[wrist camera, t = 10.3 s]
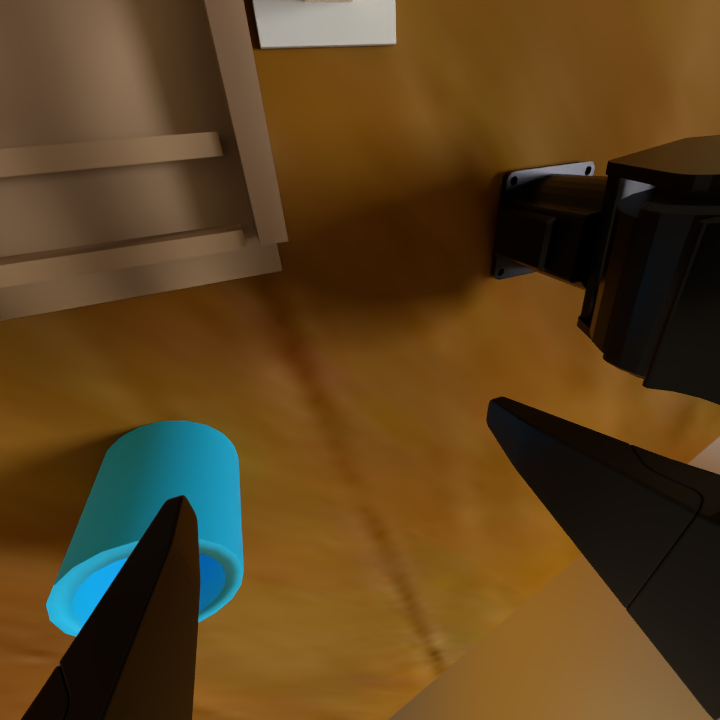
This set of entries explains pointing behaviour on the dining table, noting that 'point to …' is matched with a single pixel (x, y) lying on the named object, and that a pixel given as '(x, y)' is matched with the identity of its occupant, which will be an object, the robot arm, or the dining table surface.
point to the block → (328, 0)
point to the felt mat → (324, 23)
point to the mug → (140, 506)
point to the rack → (130, 152)
